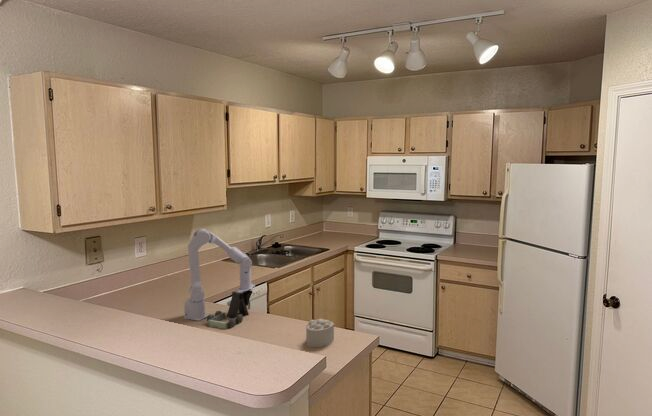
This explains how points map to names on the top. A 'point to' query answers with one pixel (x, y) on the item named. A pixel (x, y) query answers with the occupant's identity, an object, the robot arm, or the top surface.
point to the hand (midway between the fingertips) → (245, 304)
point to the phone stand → (237, 306)
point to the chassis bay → (216, 323)
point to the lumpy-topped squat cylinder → (319, 333)
